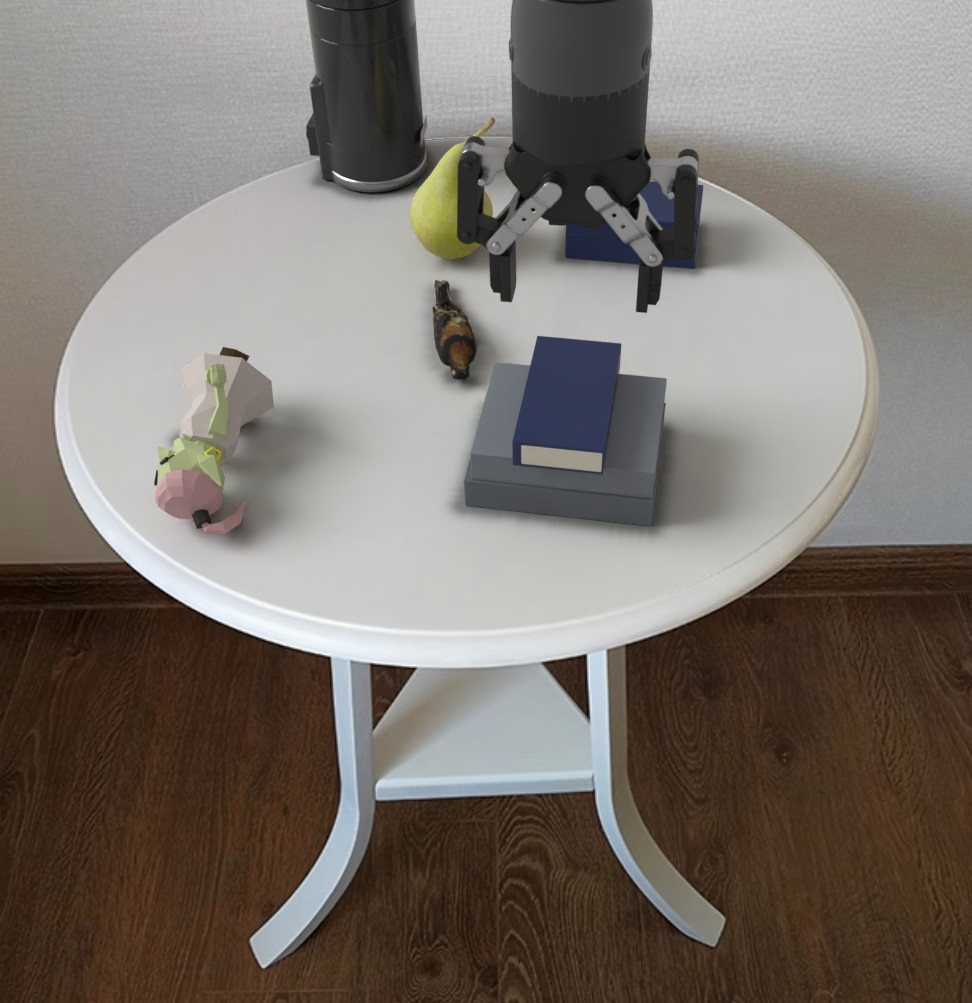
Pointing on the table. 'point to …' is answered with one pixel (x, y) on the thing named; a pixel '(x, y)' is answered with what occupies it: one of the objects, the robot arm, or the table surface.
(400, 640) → the table surface
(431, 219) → the fruit
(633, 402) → the grey stack
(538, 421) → the navy book
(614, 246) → the navy stack
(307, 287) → the table surface
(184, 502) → the figurine
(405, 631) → the table surface
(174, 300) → the table surface
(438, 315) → the bird model
